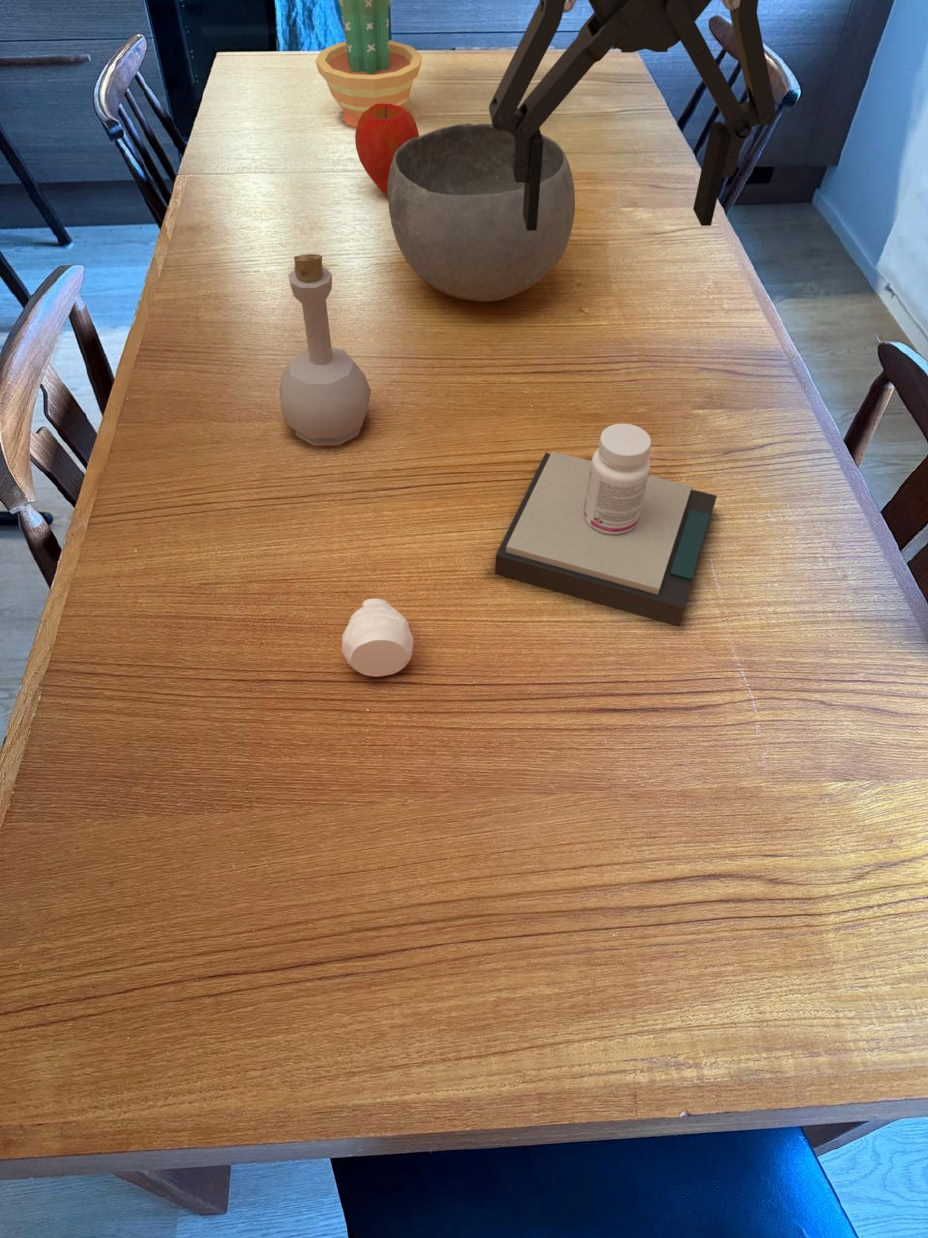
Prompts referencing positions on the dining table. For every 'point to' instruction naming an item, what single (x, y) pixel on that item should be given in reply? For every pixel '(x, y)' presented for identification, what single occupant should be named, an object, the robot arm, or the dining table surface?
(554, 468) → the scale
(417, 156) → the bowl
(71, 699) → the dining table surface
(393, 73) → the potted cactus
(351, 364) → the potion bottle
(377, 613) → the garlic bulb
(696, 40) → the robot arm
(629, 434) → the pill bottle
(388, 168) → the apple
